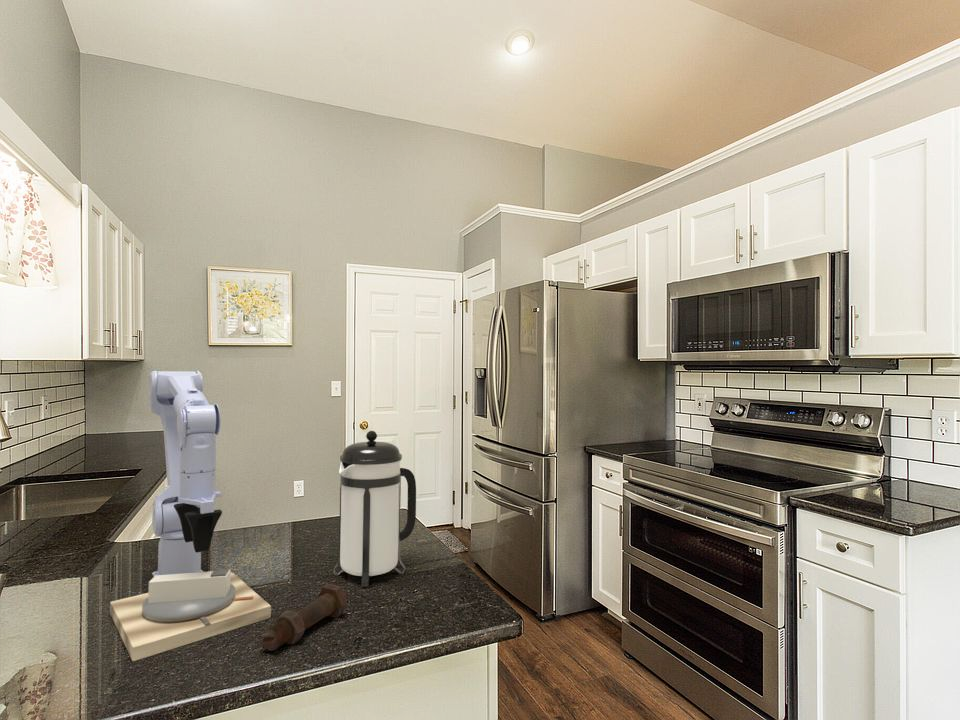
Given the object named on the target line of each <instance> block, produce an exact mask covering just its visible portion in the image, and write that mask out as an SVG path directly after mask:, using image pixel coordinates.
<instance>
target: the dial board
mask: <svg viewBox="0 0 960 720" xmlns="http://www.w3.org/2000/svg"><path fill="white" fill-rule="evenodd" d="M230 583H231V584H232V585H233V586H234V587H235V598H234V599H233V601H232V602H231V603H230V604H228V605H227V606H226V607H224V608H222V609H220V610H218V611H216V612H214V613H211V614H209V615H205V616H202V617H199V618H194V619H190V620H184V621H175V622H159V621H153V620H150V619H147V618H145V617H144V616H143V614H142V604H143V602H144V601H145V600H146V599H147V598H148V592H146V593H141V594H138V595H134V596H129V597H125V598H120V599H117V600H112V601H110V602H109V603H110V604H109V605H110V606H109V614H110V616H111V619H112V621H113V624H114V625H115V628H116V629H117V631H118V633H119V636H120V638H121V640H122V643H124V646H125V648H126V651H127V652H128V654H129V657H130V659H131V661H132V662H136V661H139V660H143V659H146V658H148V657H152V656H155V655H158V654H160V653H164V652H166V651H167V652H168V651H171V650H174V649H176V648H179V647H183V646H185V645H189V644H193V643H195V642H199V641H202V640H205V639H208V638H211V637H214V636H218V635H221V634H224V633H227V632H230V631H233V630H236V629H239V628H243V627H246V626H250V625H252V624H255V623H259V622H262V621H265V620H268V619H271V616H272V606H271V605H270V603H268V602H267V601H266V600H265V599H263V598H262V597H261V596H260V595H259V594H258V593H256V592H255V590H253V589H252V587H250V586H249V585H247V584H246V583H245V582H244V581H243V580H242V579H240V577H239V576H237V575H236V574H235V573H234V572H232V571H231V573H230Z"/></svg>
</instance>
